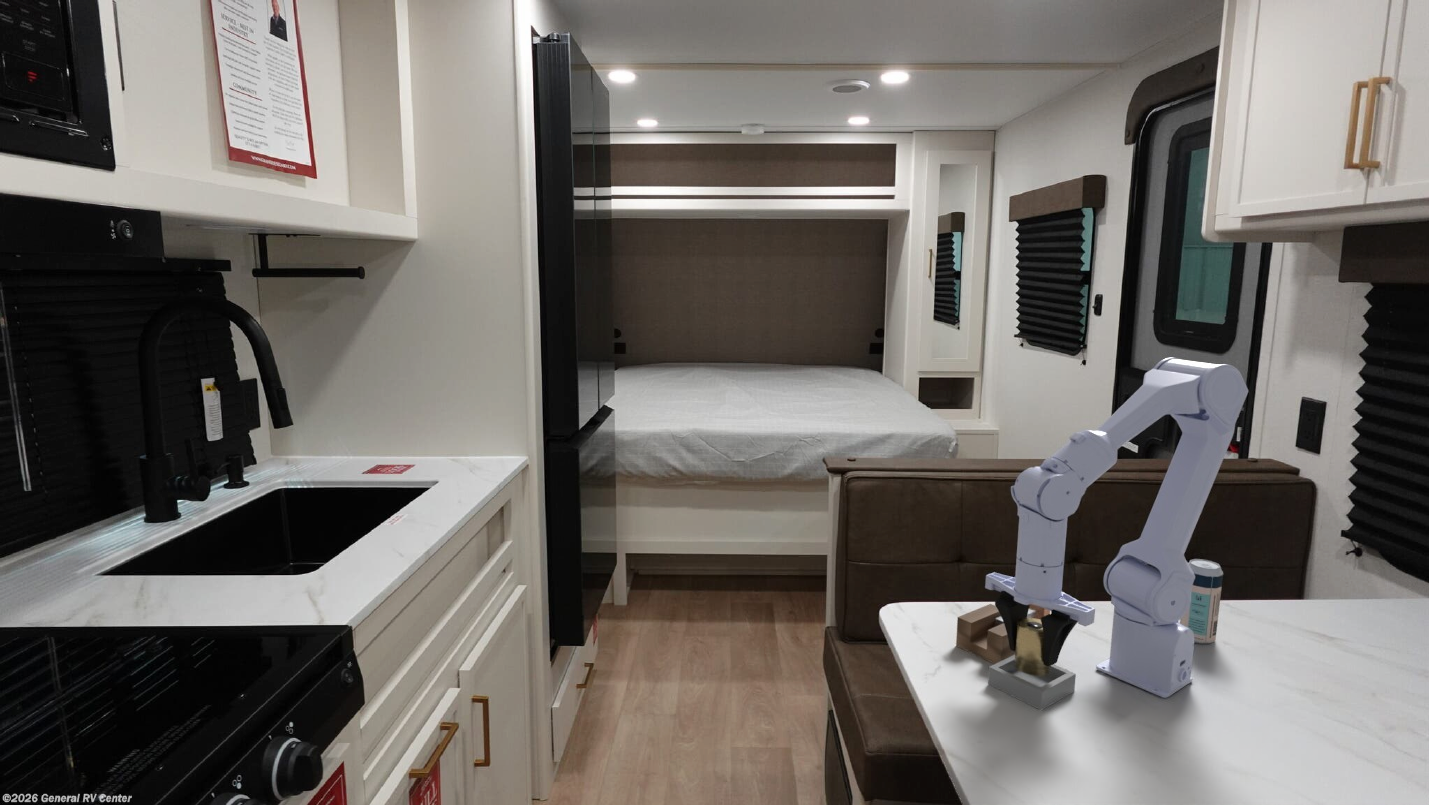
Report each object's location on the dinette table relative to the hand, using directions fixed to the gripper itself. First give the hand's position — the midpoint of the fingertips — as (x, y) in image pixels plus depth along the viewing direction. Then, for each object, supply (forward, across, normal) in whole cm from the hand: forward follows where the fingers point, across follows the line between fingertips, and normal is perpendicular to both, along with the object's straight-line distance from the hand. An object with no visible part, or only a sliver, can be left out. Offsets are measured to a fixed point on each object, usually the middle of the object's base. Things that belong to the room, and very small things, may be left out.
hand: (1032, 655), depth 102 cm
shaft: (+3, -9, +12) cm, 15 cm away
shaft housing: (+5, -10, +6) cm, 12 cm away
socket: (+5, 0, 0) cm, 5 cm away
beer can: (+5, +6, +34) cm, 34 cm away
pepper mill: (+2, 0, 0) cm, 2 cm away
